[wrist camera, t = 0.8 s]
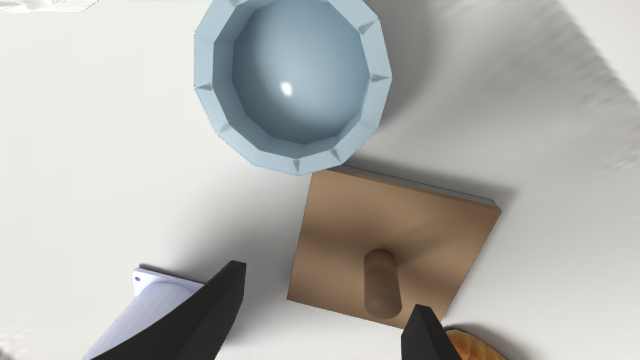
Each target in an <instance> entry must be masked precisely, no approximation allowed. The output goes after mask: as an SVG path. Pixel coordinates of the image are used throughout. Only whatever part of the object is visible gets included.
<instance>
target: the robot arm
mask: <svg viewBox="0 0 640 360" xmlns="http://www.w3.org/2000/svg"><path fill="white" fill-rule="evenodd" d="M245 273H246V263H242V262H238V261H234V260H232V261H230V262H229V263H228V264H227V265H226V266H225V267H224V268H223V269H222V270H221V271H219V272H218V273H217V274H216V275H215V276H214V277H213V278H212V279H211V280H209V281H208V282H207V283H206V284H201V283H197V282H193V281H189V280H185V279H181V278H177V277H173V276H169V275H165V274H161V273H157V272H153V271H149V270H146V269H142V268H136V269H135V270H134V271H133V272H132V275H133V284H134V293H135V299H134V300H133V301H132V302H131V304H130V305H129V306H128V307H127V308H126V309H125V310H124V311H123V313H122V314H121V315H120V316H119V317H118V318H117V319H116V320H115V322H114V323H113V324H112V325H111V326H110V327H109V328H108V329H107V331H106V332H105V333H104V334H103V335H102V336H101V337H100V338H99V340H98V341H97V342H96V343H95V344H94V345H93V346H92V347H91V349H90V350H89V351H88V352H87V353H86V354H85V355H84V356H83V358H82V359H81V360H214V359H215V357H216V355H217V354H218V352H219V350H220V348H221V346H222V344H223V342H224V340H225V338H226V336H227V334H228V332H229V331H230V329H231V327H232V325H233V323H234V320H235V318H236V315H237V313H238V310H239V308H240V305H241V303H242V300H243V295H244V284H245ZM401 354H402V360H463V359H462V358H461V356H460V355H459V353H458V352H457V350H456V348H455V347H454V345H453V344H452V342H451V340H450V339H449V337H448V335H447V334H446V332H445V330H444V329H443V327H442V325H441V323H440V322H439V320H438V318H437V317H436V315H435V313H434V312H433V310H432V308H431V307H429V306H424V305H420V304H415V307H414V309H413V311H412V313H411V315H410V318H409V320H408V322H407V324H406V326H405V329H404V331H403V333H402V335H401Z"/></svg>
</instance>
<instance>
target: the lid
mask: <svg viewBox="0 0 640 360" xmlns="http://www.w3.org/2000/svg"><path fill="white" fill-rule="evenodd" d="M501 212H502V211H501V210H500V209H499V207H498V206H494V205H489V204H485V203H481V202H477V201H472V200H468V199H464V198H460V197H456V196H451V195H447V194H443V193H439V192H434V191H430V190H426V189H422V188H417V187H413V186H409V185H405V184H401V183H396V182H392V181H388V180H384V179H379V178H375V177H371V176H367V175H362V174H358V173H354V172H350V171H345V170H341V169H337V168H333V167H330V168H327V169H323V170H319V171H315V172H313V173H312V178H311V183H310V188H309V193H308V197H307V202H306V207H305V212H304V217H303V222H302V227H301V232H300V236H299V241H298V246H297V251H296V256H295V261H294V266H293V270H292V275H291V280H290V285H289V290H288V295H287V300H290V301H294V302H298V303H302V304H306V305H310V306H314V307H318V308H322V309H326V310H330V311H334V312H338V313H342V314H346V315H349V316H353V317H357V318H361V319H365V320H369V321H373V322H377V323H381V324H385V325H389V326H393V327H397V328H401V329H405V326H406V324H407V322H408V320H409V318H410V315H411V313H412V311H413V309H414V307H415V304H420V305H424V306H429V307H431V308H432V310H433V312H434V313H435V315H436V317H437V318H438V320H439V322H441V320H442V318H443V316H444V314H445V313H446V311H447V309H448V307H449V305H450V304H451V302H452V300H453V298H454V296H455V295H456V293H457V291H458V289H459V287H460V286H461V284H462V282H463V280H464V278H465V277H466V275H467V273H468V271H469V269H470V268H471V266H472V264H473V262H474V260H475V259H476V257H477V255H478V253H479V251H480V250H481V248H482V246H483V244H484V242H485V241H486V239H487V237H488V235H489V233H490V232H491V230H492V228H493V226H494V224H495V223H496V221H497V219H498V217H499V215H500V214H501Z"/></svg>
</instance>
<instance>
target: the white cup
mask: <svg viewBox="0 0 640 360" xmlns="http://www.w3.org/2000/svg"><path fill="white" fill-rule="evenodd" d="M96 1H98V0H0V13H10V12H18V13H30V12H34V11H70V12H82V11H84V10H85V9H87V8H88V7H89V6H91V5H92V4H94V3H95V2H96Z"/></svg>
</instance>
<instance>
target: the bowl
mask: <svg viewBox="0 0 640 360" xmlns="http://www.w3.org/2000/svg"><path fill="white" fill-rule="evenodd" d="M195 33H196V34H194V87H195V91H196V93H197V95H198V98H199V100H200V102H201V104H202V106H203V108H204V110H205V112H206V114H207V116H208V118H209V121H210V123H211V125H212V127H213V129H214V131H215V133H216V134H217V136H218V137H220V138H221V139H222V140H223V141H225V142H226V143H227V144H228V145H229V146H231V147H232V148H233V149H234V150H235V151H237V152H238V153H239V154H240V155H242V156H243V157H244V158H245V159H246V160H248V161H249V162H250V163H251V164H252V165H253V164H254V166H258V167H262V168H267V169H271V170H275V171H279V172H283V173H288V174H292V175H296V176H298V175H299V176H300V175H304V174H308V173H311V172H315V171H319V170H323V169H327V168H330V167H334V166H338V165H342V164H343V163H344V162H345V161H346V160H347V159H348V158H349V157H350V156H351V155H352V154H353V153H355V152H356V151H357V150H358V149H359V148H360V147H361V146H362V145H363V144H364V143H365V142H366V141H367V140H368V139H369V138H370V137H371V136H372V135H373V134H374V133H375V132H376V131H377V130H378V126H379V123H380V120H381V116H382V113H383V109H384V106H385V102H386V99H387V96H388V92H389V89H390V85H391V82H392V79H393V78H392V77H393V76H392V72H391V67H390V63H389V59H388V54H387V50H386V46H385V41H384V37H383V33H382V28H381V24H380V19H378V16H377V15H376V14H375V13H374V12H373V11H372V10H371V9H370V8H369V7H368V6H367V5H366V4H365V2H364V1H363V0H213V2H212V3H211V5H210V7H209V8H208V10H207V12H206V14H205V15H204V17H203V19H202V21H201V22H200V24H199V26H198V27H197V29H196V31H195Z"/></svg>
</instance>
